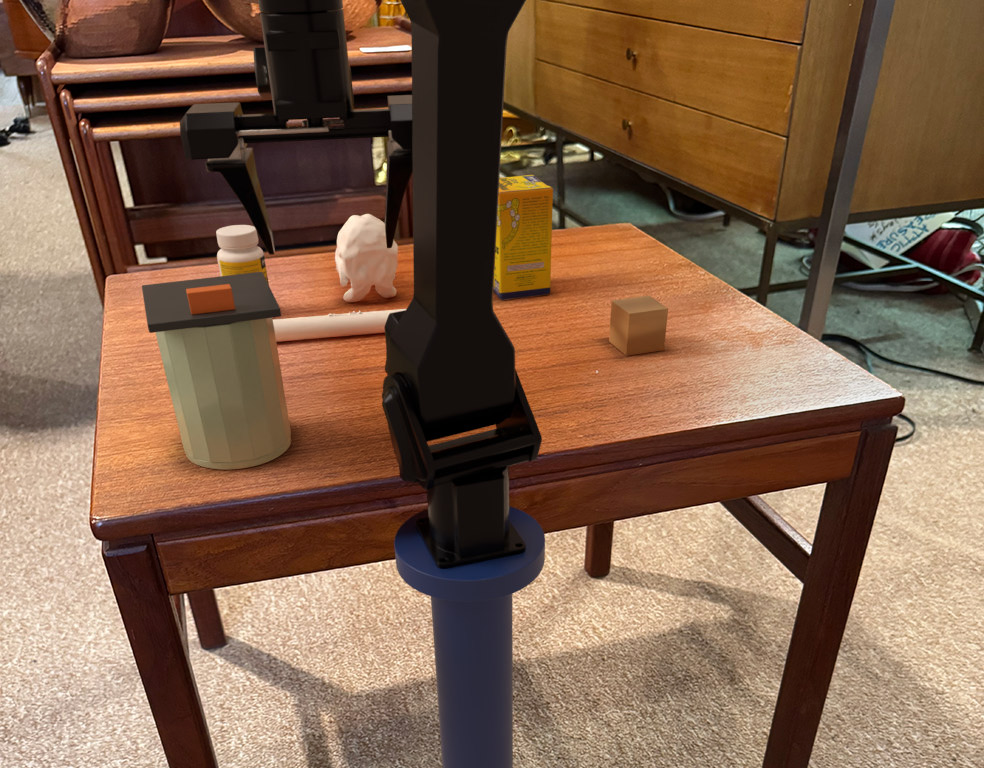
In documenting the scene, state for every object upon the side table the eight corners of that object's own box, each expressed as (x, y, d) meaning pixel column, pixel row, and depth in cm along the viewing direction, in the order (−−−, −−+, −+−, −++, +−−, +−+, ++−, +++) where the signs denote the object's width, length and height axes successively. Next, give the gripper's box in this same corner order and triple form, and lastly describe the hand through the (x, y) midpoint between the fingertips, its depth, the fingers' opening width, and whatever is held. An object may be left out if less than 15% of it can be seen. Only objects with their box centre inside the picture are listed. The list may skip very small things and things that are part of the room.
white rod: (440, 323, 96) (439, 300, 94) (444, 330, 94) (442, 307, 93) (263, 338, 93) (259, 315, 92) (263, 346, 92) (259, 322, 90)
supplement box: (483, 284, 105) (481, 178, 99) (533, 279, 107) (534, 173, 100) (499, 301, 101) (498, 191, 94) (551, 295, 102) (554, 186, 96)
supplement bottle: (278, 317, 98) (265, 232, 93) (234, 324, 97) (217, 238, 91) (266, 303, 102) (253, 221, 96) (223, 310, 100) (207, 227, 95)
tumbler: (299, 459, 73) (277, 317, 66) (189, 477, 71) (154, 333, 64) (282, 416, 79) (260, 282, 72) (181, 431, 77) (148, 296, 70)
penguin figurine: (337, 221, 94) (316, 206, 104) (348, 309, 99) (327, 287, 108) (398, 215, 96) (372, 200, 105) (406, 302, 100) (380, 280, 110)
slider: (281, 316, 66) (276, 286, 64) (149, 333, 64) (141, 302, 62) (263, 279, 72) (258, 250, 71) (143, 293, 70) (136, 264, 69)
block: (664, 350, 89) (668, 308, 87) (626, 356, 88) (629, 313, 86) (645, 336, 92) (649, 295, 90) (608, 341, 91) (611, 300, 89)
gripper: (429, -1, 71) (441, 219, 81) (180, 7, 70) (222, 230, 79) (440, 9, 62) (451, 254, 72) (155, 19, 61) (206, 268, 71)
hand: (331, 250), depth 74 cm, fingers open, 9 cm apart
